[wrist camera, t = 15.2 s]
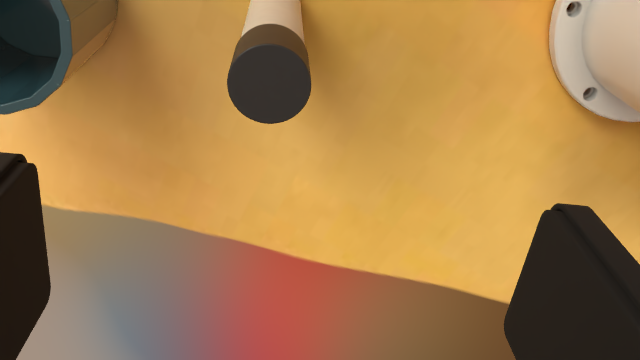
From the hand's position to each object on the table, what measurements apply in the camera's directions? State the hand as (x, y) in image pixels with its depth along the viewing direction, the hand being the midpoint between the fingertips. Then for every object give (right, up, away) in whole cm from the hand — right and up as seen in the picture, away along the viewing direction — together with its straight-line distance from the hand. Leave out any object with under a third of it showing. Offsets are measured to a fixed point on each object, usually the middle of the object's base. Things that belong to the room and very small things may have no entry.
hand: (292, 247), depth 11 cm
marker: (-2, +11, +22) cm, 25 cm away
